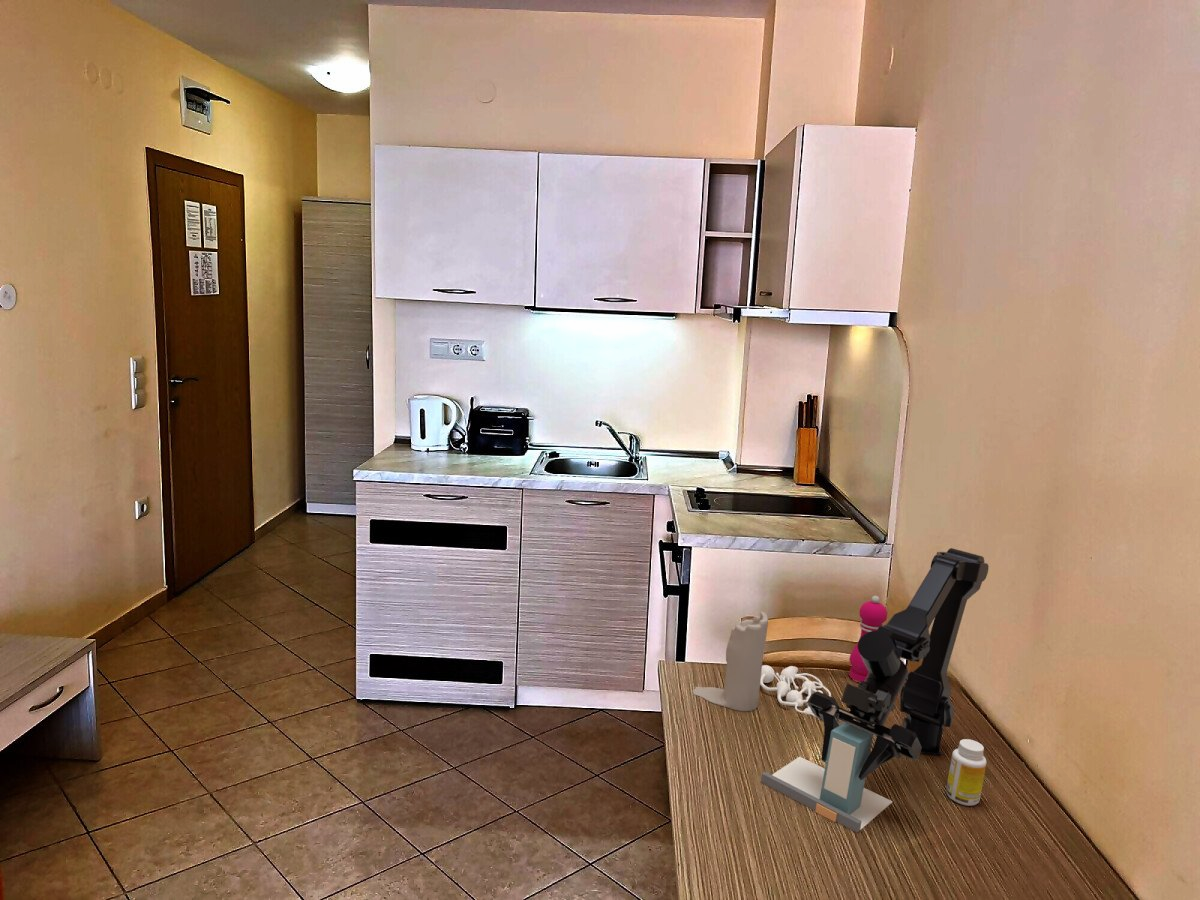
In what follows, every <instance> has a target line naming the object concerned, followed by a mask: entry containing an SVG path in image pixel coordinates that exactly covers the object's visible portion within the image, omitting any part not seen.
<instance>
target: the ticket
mask: <svg viewBox="0 0 1200 900" xmlns="http://www.w3.org/2000/svg"><path fill="white" fill-rule="evenodd" d="M814 811H815V812H814V813H816V814H818V815H820V816H822V817H824V818H826V819H828V820H830V821H831V822H834V823H837V822H836V818H837V813H835V812H833V811H831V810H829V809H827V808H825V807H824V806H822V805H820V804H818V803H817V804H816V810H814Z"/></svg>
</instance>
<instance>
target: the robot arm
mask: <svg viewBox="0 0 1200 900" xmlns="http://www.w3.org/2000/svg"><path fill="white" fill-rule="evenodd" d="M988 573H989V564H988V563H986V562H985V558H984V556H982V555H980V554H975V553H971V552H969V551H968V552H967V551H964V550H960V549H957V548H952V547H950V548H948V550H947V551H946V552H945V551H937V552H936V554H935V555H934V556H933V558H932V560H931V564H930V568H929V570H928V572H927V574H926V576H925V577H924V579H923V580H922V582H921V584H920V585H919V587H918V589H917V590H916V592H915V594H914V595H913V597H912V599H911V600H910V602H909V604H908V605H907V606H906V608H905V609H904V610H901V611H898V612H896V613H894V614H893V615H892V616H891V618H890V620H889V621H888V622H887V623H886V624H885V625H883V626H881V625H880V626H879V628H878V630H877V631H871V632H868V633H866V634H865V635H863V636H862V637H861V638H860V637H859V639H858V641H859V642H858V641H857V643H858V651H859V653H860V655H861V657H862V659H863V662H864V664H865V666H866V668H867V670H868V671H869V673H868V675H867V677H866V679H865V681H861V682H860V683H858V686H855V685H852V684H851V683H848V682H847V683H846V685H845V688H844V690H843V693H842V697H841V699H840V702H841V703H844V704H845V706H846V708H848V709H849V710H846V708H845V709H844V708H842V707H840V706H839V703H838V702H837V700H836V698H834V697H832V696H831V697H830V696H829V694H825V693H824V692H823V693H821V692H818V690H817V692H814V693H813V694H811V696H810V698H809V700H808V701H807V703H808V705H809V707H810V708H811V710H812V713H813V714H814V715H815V716H816V717H818V718H817V719H820V720H822V722H823V725H824V726H823V728H824V729H823V740H822V741H823V742H822V749H821V759H820V760H821V761H822V763H826V759H827V753H828V747H829V742H830V736H831V731H832V730H833V729H835V728H837V727H838V726H840V723H841V722H843V723H845V722H846V723H848V724H850V725H853V726H855V727H857V728H859V729H862V730H864V731H866V732H869V733H871V734H873V736H876V737H875V738H876V739H875V741H874V745H873V747H872V748H871V750H870V754H869V756H868V758H867V760H866V762H865V763H864V765H863V767H862V769H861V771H860V774H859V779H860V780H863V779H864V778H865V779H866V778H867V777H868V776H869V775H870V774H871V773H873V772H874V771H875V770H877V769H879V767H880V766H882V765H884V764H885V763H887V762H888V761H890V760H891V759H893V758H895V759H896V758H897V759H900V758H901V756H904V757H905V758H908V759H910V760H912V761H918V759H919V757H920V754H925V755H935V756H943V752H942V750H941V744H942V743H941V742H942V737H943V732H944V728H950V727H952V724H953V719H954V714H955V708H954V706H953V704H952V701H951V698H950V696H951V691H952V687H951V684H950V681H949V678H948V674H947V671H948V667H949V665H950V662H951V657H952V654H953V651H954V647H955V643H956V640H957V636H958V633H959V630H960V627H961V623H962V619H963V615H964V613H965V609H966V605H967V601H968V600H969V599H970V598H971V597H973V595H975V594H976V593H977V592H978V591H979V590H981V587H982V583H983V582H984V581H985V580H986V578H987V577H988V575H989V574H988ZM930 627H931V629H930ZM929 629H930V631H929ZM902 659H903V660H907V661H909V662H912V663H915V662H916V663H919V662H920V661H921V660H922V661H921V664H920V665H919V666H918V667H917V668H916V669H914V670H913V671H912V670H911V671H910V672H909V670H908V667H907V664H906V663H905V662H904V661H903V660H902ZM899 694H900V695H899ZM898 696H899V697H900V698H899V700H900V702H899V703H900V706H899V707H900V708H899V709H900V710H899V711H900V712H901V713H904V714H906V717H904V718H903V719H902V724H901V725H902V726H901V725H899V724H896V723H895V724H893V725H892V726H891V728H889V727H886V726H885V723H886V721H887V719H888V717H889V714H890V713H891V712H894V709H895V707H896V705H895V703H896V700H897V698H898ZM816 717H815V718H816Z"/></svg>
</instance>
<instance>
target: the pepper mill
mask: <svg viewBox="0 0 1200 900" xmlns="http://www.w3.org/2000/svg"><path fill="white" fill-rule="evenodd" d="M859 617H860V619H861V620H860V624H859V628H860V637H859V639H860V638H861V637H862V636H863V635H865V634H866V633H868V632H871V631H877V630H878V628H879V626H880V625H881V626H884V625H883V624H884V623H885V622H886V621H887V619H888V610H887V607H885V605H884V604H883V603H881V602H880V597H879V596H878V595H873V596H872V597H871V600H869V601H866V602H864V603H863V604H861V606H860V608H859ZM858 642H859V640H857V643H856V644H855V645H854V647H853V649H852V651H851V653H850V654H849V663H850V665H851V667H850V669H849V675H850V677H851V678H852V679H854V680H857V681H859V682H861V681H865V679H866V677H867V675H868V673H869V671H868V670H867V668H866V666H865V664H864V662H863V659H862V657H861V655H860V653H859V651H858ZM849 675H848V676H849ZM850 677H849V678H850ZM851 678H850V679H851ZM852 679H851V680H852Z"/></svg>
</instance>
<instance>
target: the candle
mask: <svg viewBox="0 0 1200 900" xmlns="http://www.w3.org/2000/svg"><path fill="white" fill-rule="evenodd" d="M768 625H769V617H768V615H767V614H766V612H765V611H761V612H760V614H759V616H758V615H754V616H753V619H745V620H742V621H741V622H740V623H739V624H737V625H735V626H734V627H733V628H732V629H731V632H730V636H729V638H728V642H727V646H726V651H725V661H726V669H725V677H724V685H723V688H719V687H713V686H707V687H706V686H705V687H704V686H703V687H702V686H695V687H694V689H693V690H692V693H693V694H694V695H695V696H697V697H701V698H702V699H703V700H705V701H707V702H709V703H712V704H714V705H718V706H722V707H724V708H727V709H732V710H734V711H737V712H738V711H739V712H751V711H754V710H756V709H757V708H758V702H759V696H760V687H761V685H760V680H761V671H762V666H763V662H764V661H763V660H764V653H765V648H766V643H767V642H766V641H767V633H768Z"/></svg>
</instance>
